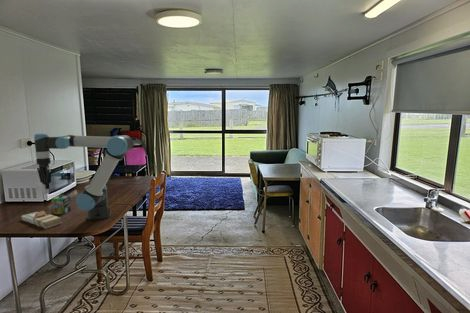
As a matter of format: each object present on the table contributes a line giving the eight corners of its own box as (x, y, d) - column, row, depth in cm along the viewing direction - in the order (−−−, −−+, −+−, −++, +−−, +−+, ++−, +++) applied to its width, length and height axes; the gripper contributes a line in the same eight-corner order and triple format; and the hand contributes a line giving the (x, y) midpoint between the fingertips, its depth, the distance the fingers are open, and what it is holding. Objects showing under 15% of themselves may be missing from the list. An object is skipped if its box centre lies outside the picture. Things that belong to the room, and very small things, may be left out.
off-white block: (36, 212, 204) (36, 217, 205) (28, 215, 200) (28, 219, 200) (41, 214, 201) (41, 218, 202) (33, 216, 197) (33, 220, 198)
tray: (49, 219, 202) (49, 215, 201) (33, 224, 193) (33, 220, 193) (37, 215, 209) (36, 211, 209) (21, 220, 201) (21, 215, 200)
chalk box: (59, 210, 221) (57, 191, 219) (71, 210, 221) (69, 191, 219) (51, 214, 212) (50, 194, 210) (64, 214, 212) (62, 194, 210)
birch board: (61, 223, 195) (61, 217, 194) (46, 228, 186) (45, 222, 186) (49, 219, 202) (49, 214, 201) (34, 224, 193) (33, 218, 192)
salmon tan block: (46, 214, 198) (44, 210, 199) (38, 216, 194) (36, 212, 195) (43, 219, 201) (41, 215, 202) (35, 221, 196) (33, 218, 197)
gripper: (55, 157, 188) (58, 193, 191) (43, 156, 194) (46, 190, 198) (43, 159, 181) (46, 196, 185) (31, 157, 187) (34, 193, 191)
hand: (46, 193), depth 191 cm, fingers closed
